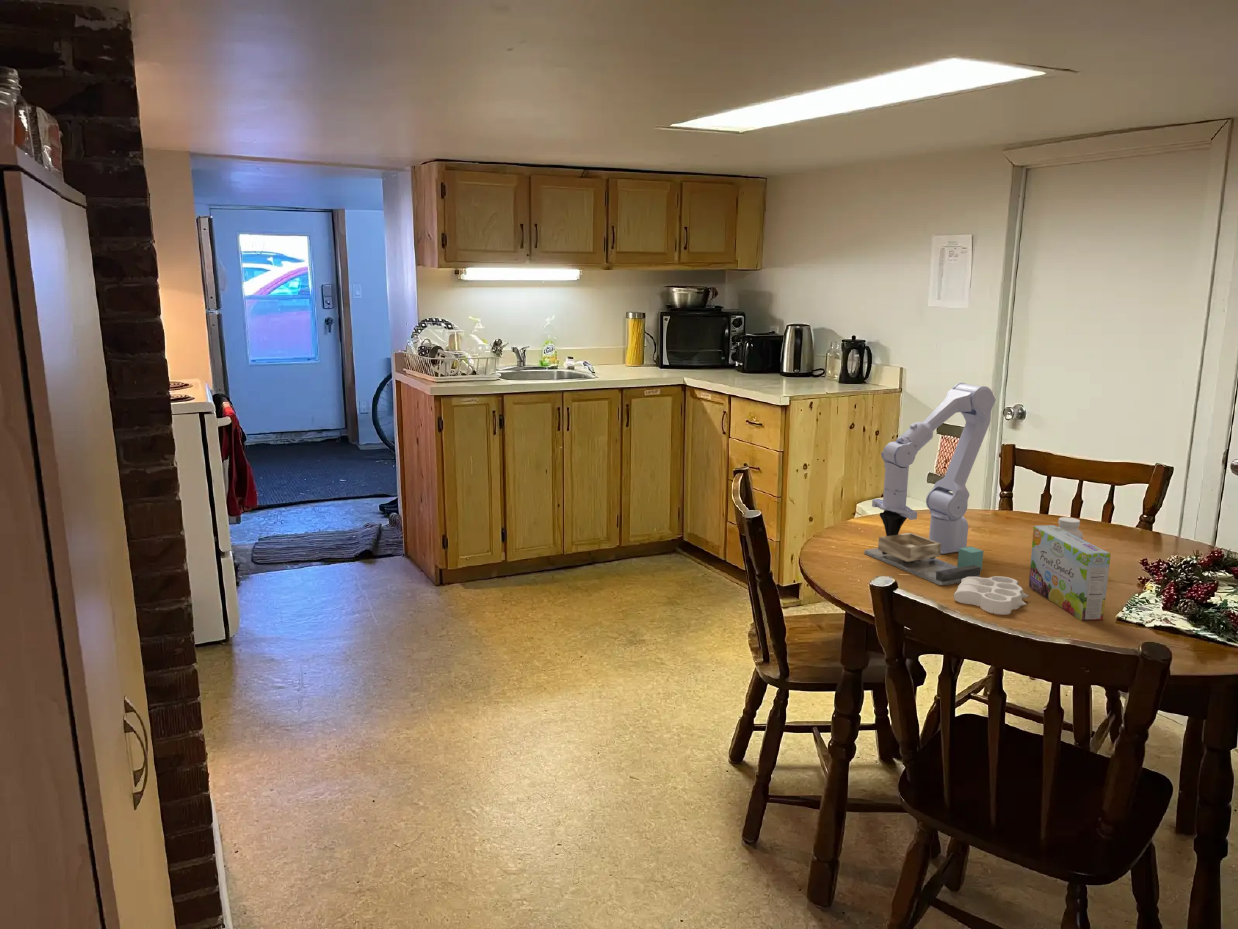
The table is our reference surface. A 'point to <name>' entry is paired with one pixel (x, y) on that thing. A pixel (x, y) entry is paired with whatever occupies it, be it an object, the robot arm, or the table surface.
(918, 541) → the brown open box
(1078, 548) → the snack box
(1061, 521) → the supplement bottle
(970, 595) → the white paw tray
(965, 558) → the block
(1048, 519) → the table surface
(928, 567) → the rail board
